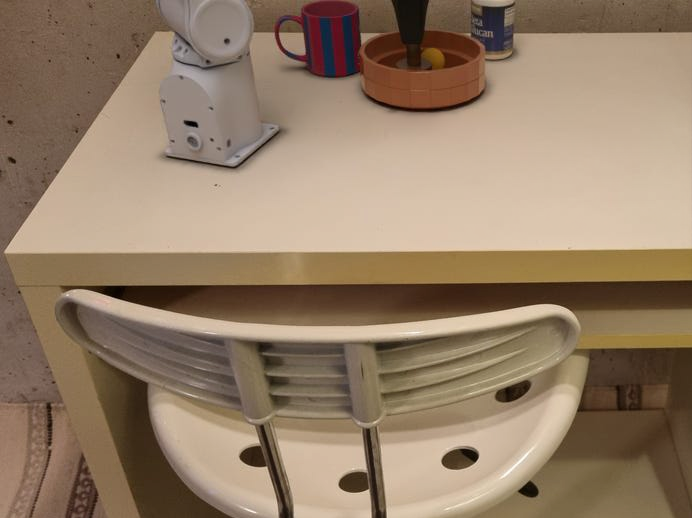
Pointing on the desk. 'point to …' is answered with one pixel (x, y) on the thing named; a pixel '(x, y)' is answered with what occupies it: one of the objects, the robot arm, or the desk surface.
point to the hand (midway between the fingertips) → (412, 40)
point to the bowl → (419, 85)
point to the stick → (414, 59)
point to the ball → (434, 58)
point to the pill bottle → (493, 26)
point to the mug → (328, 37)
